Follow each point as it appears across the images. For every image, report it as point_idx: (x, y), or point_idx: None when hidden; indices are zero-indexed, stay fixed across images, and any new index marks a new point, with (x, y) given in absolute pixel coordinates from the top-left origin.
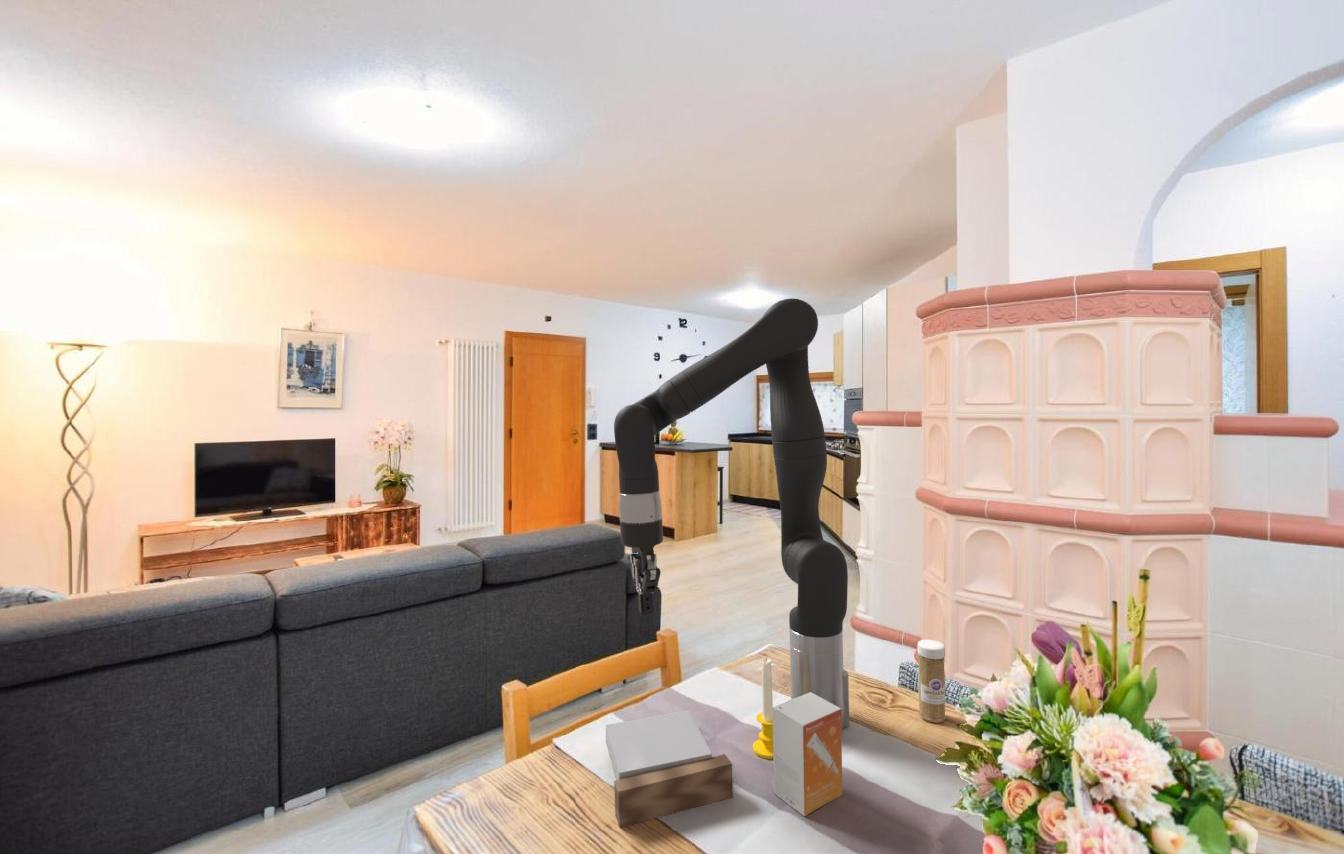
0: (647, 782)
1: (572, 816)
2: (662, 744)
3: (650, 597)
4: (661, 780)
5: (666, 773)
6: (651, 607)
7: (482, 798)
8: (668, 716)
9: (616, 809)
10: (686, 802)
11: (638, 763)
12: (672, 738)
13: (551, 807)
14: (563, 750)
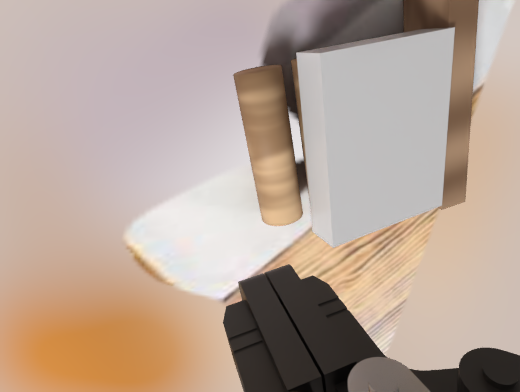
0: (463, 158)
1: (388, 243)
2: (406, 130)
3: (376, 348)
4: (468, 135)
5: (457, 125)
6: (334, 292)
7: None
8: (333, 111)
9: None
10: None
11: (434, 175)
12: (398, 108)
13: (365, 272)
14: (237, 287)
